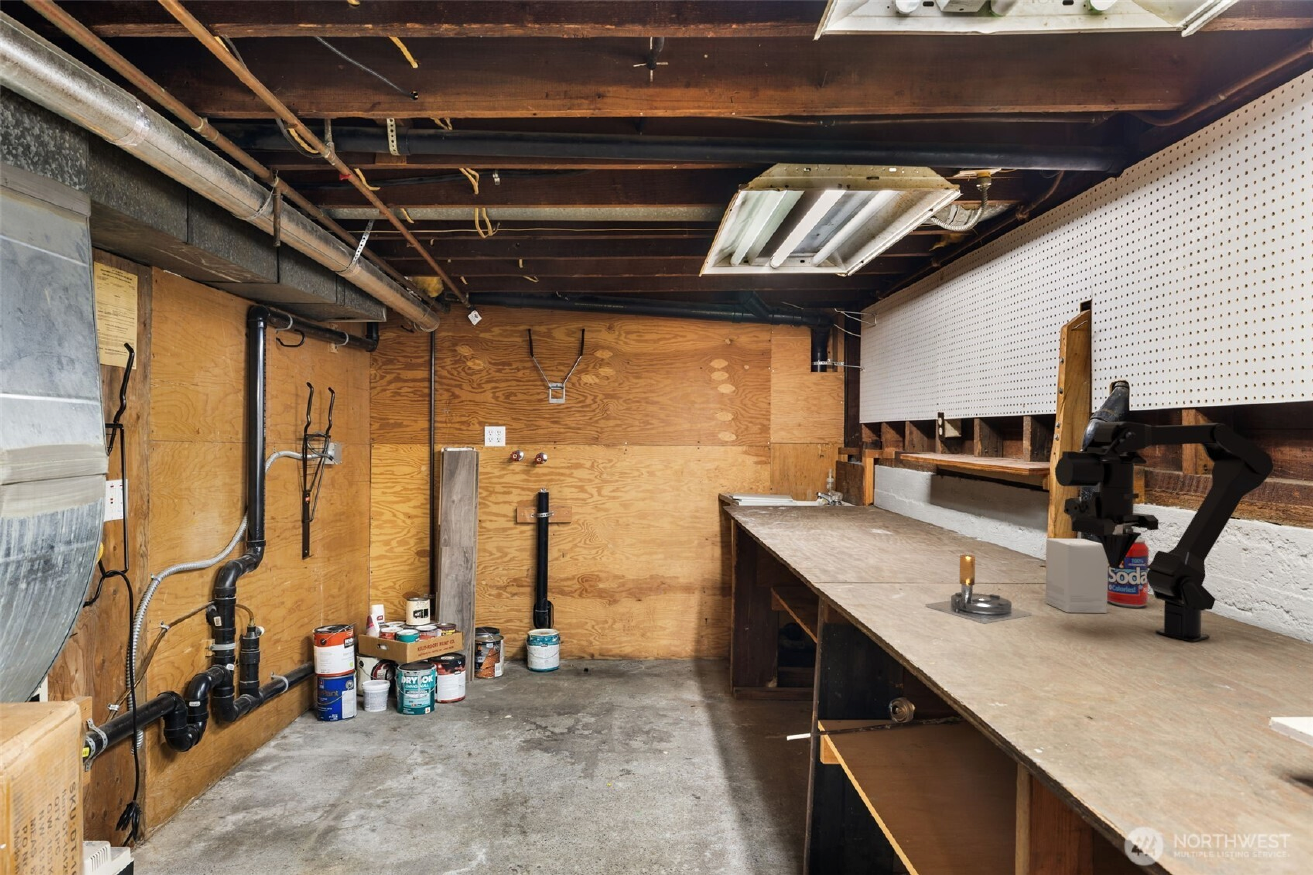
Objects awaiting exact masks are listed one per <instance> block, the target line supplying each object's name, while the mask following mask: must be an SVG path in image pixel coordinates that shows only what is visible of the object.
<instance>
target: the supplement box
mask: <svg viewBox="0 0 1313 875" xmlns="http://www.w3.org/2000/svg"><path fill="white" fill-rule="evenodd" d="M1045 542H1046V546H1045V548H1046V549H1045V552H1046V553H1045V554H1046V556H1045V560H1046V561H1045V603H1046V604H1047V605H1049V606H1052V607H1054V608H1056V609H1059V610H1060V611H1063V612H1065V613H1072V614H1073V613H1078V614H1079V613H1081V614H1082V613H1084V614H1107V613H1108V600H1107V581H1108V559H1107V556H1106V554H1105V551H1104V548H1103V545H1102V543H1101V542H1096V541H1094V540H1093V541H1092V540H1089V539H1086V538H1058V537H1057V538H1053V537H1052V538H1050V537H1049V538H1046V541H1045Z"/></svg>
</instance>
